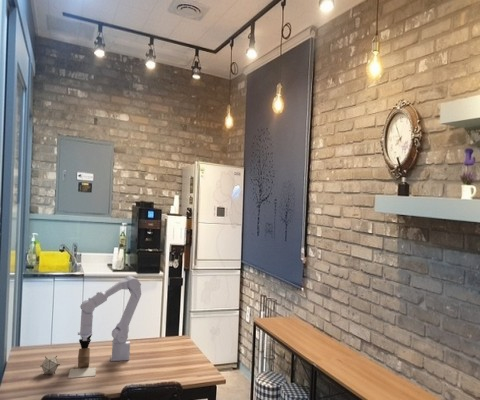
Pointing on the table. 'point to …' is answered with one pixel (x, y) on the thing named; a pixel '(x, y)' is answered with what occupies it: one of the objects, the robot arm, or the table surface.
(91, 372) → the mat
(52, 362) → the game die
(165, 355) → the table surface
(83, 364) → the walnut block
